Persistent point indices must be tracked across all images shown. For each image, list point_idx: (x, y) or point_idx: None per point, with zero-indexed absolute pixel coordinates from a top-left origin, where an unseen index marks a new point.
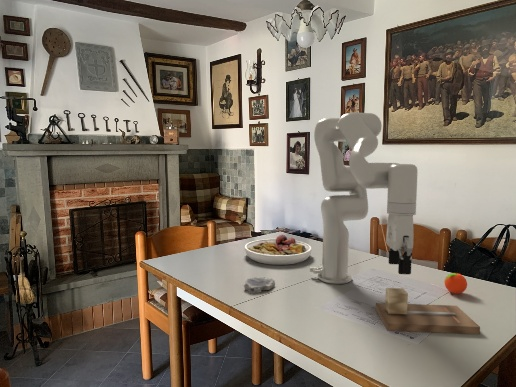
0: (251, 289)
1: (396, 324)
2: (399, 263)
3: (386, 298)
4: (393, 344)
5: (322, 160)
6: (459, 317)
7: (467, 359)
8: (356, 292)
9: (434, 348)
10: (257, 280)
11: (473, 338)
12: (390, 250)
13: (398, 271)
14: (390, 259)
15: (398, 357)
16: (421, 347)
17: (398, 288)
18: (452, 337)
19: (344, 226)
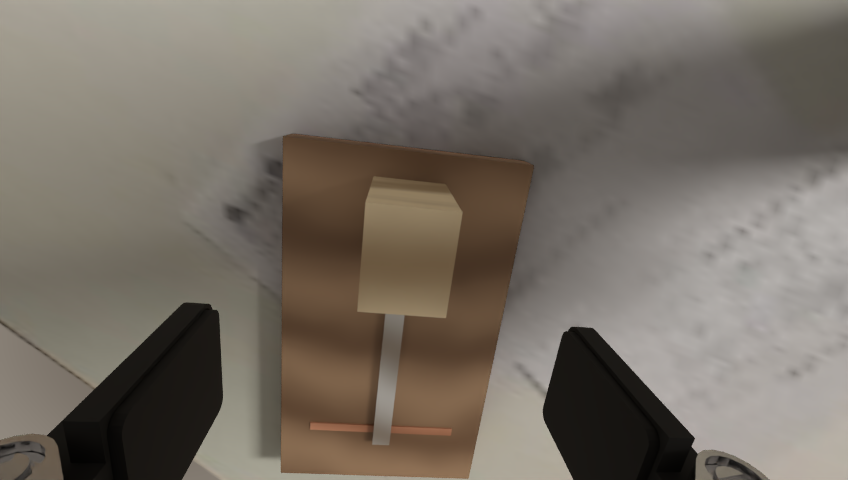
0: None
1: (284, 178)
2: (107, 379)
3: (431, 194)
4: (155, 108)
5: None
6: (359, 444)
7: (89, 337)
8: (741, 133)
9: (151, 263)
10: None
11: (254, 419)
12: (684, 456)
13: (193, 311)
14: (586, 364)
15: (35, 84)
16: (150, 218)
17: (448, 288)
18: (254, 360)
19: None
